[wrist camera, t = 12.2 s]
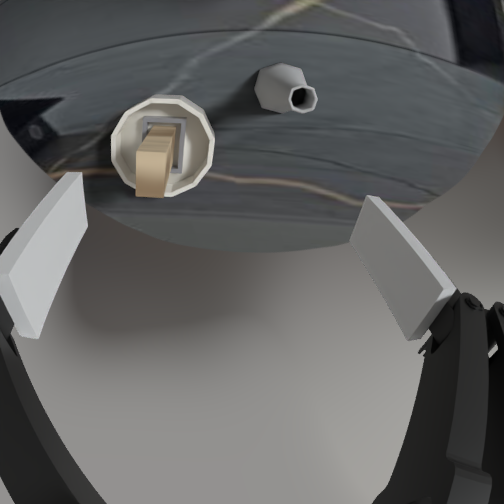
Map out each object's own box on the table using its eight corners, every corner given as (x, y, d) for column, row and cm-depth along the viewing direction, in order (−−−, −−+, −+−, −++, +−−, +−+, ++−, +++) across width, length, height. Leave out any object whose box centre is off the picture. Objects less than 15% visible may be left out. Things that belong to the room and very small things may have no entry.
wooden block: (153, 125, 36) (136, 151, 27) (176, 126, 36) (166, 152, 28) (151, 160, 38) (135, 196, 30) (173, 161, 39) (163, 197, 30)
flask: (254, 114, 38) (268, 133, 30) (252, 63, 33) (266, 65, 25) (307, 112, 38) (334, 131, 30) (307, 62, 34) (336, 67, 26)
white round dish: (119, 94, 33) (112, 98, 30) (218, 98, 35) (219, 102, 33) (118, 183, 40) (112, 194, 38) (207, 187, 43) (207, 198, 40)
